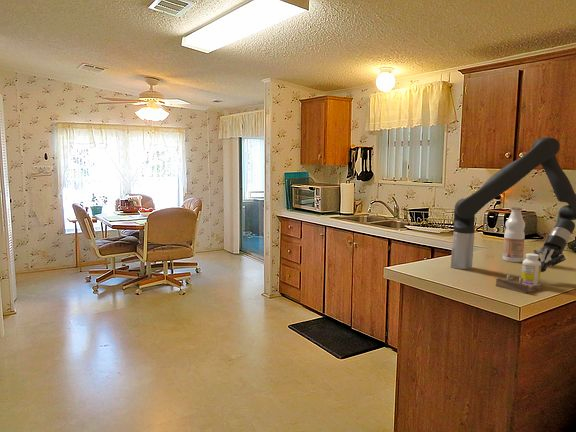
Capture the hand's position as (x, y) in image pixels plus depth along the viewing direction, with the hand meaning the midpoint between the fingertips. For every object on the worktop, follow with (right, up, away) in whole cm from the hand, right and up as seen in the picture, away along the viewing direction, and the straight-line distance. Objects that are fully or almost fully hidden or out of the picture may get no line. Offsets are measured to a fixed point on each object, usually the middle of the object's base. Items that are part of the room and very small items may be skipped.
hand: (540, 270), depth 177 cm
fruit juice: (+11, 0, +43) cm, 44 cm away
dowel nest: (-14, -6, -8) cm, 17 cm away
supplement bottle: (-6, -6, -3) cm, 9 cm away
